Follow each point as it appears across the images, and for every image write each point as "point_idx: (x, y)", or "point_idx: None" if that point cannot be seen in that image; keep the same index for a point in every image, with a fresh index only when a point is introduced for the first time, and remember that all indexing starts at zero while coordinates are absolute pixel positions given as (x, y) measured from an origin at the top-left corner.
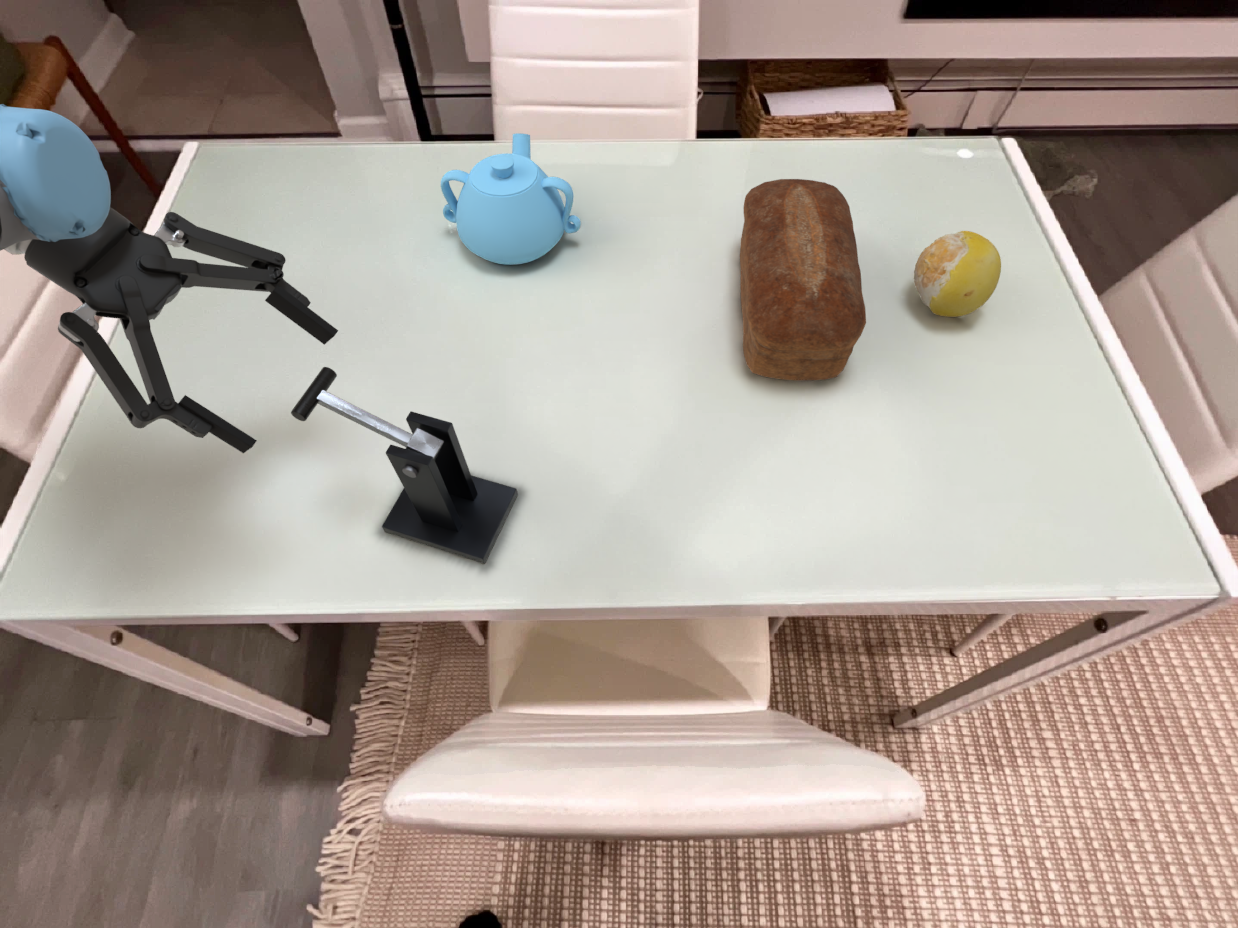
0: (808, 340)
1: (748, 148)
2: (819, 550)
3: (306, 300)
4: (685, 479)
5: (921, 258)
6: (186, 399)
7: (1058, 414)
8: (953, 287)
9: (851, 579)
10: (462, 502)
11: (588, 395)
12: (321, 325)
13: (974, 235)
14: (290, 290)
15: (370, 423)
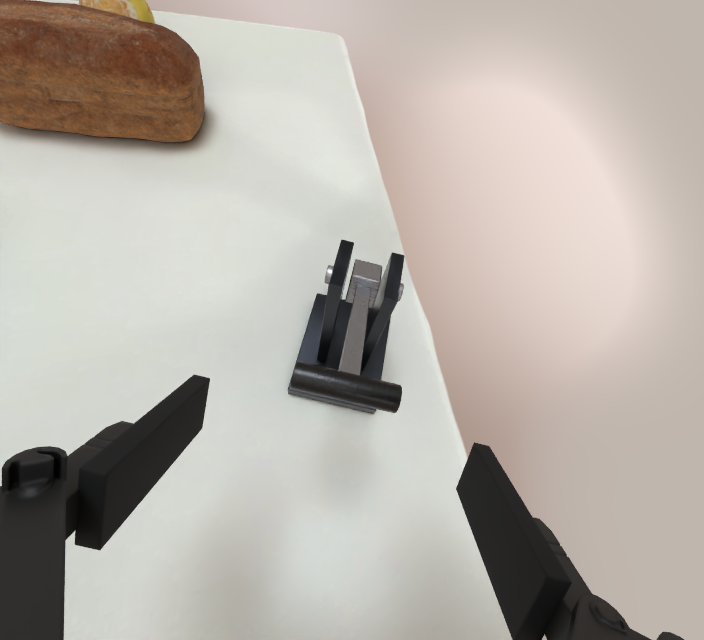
0: (193, 63)
1: None
2: (342, 137)
3: (116, 427)
4: (293, 191)
5: None
6: (550, 569)
7: (239, 39)
8: (141, 9)
9: (359, 129)
10: (337, 336)
11: (197, 250)
12: (193, 391)
13: None
14: (85, 458)
15: (365, 317)
